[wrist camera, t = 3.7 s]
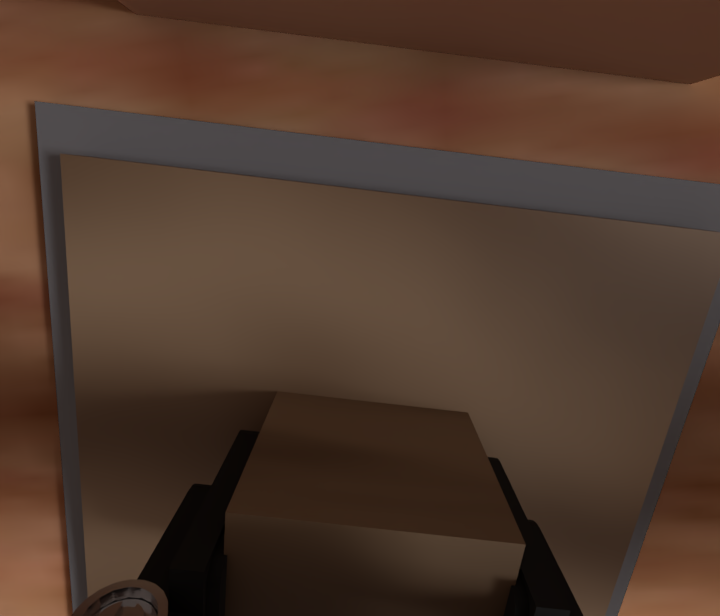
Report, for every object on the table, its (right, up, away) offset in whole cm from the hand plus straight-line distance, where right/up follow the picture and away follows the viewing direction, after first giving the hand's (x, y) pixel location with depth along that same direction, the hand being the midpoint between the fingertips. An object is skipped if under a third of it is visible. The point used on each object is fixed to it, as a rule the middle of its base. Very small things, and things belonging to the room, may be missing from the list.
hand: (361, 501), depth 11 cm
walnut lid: (0, 0, +1) cm, 1 cm away
